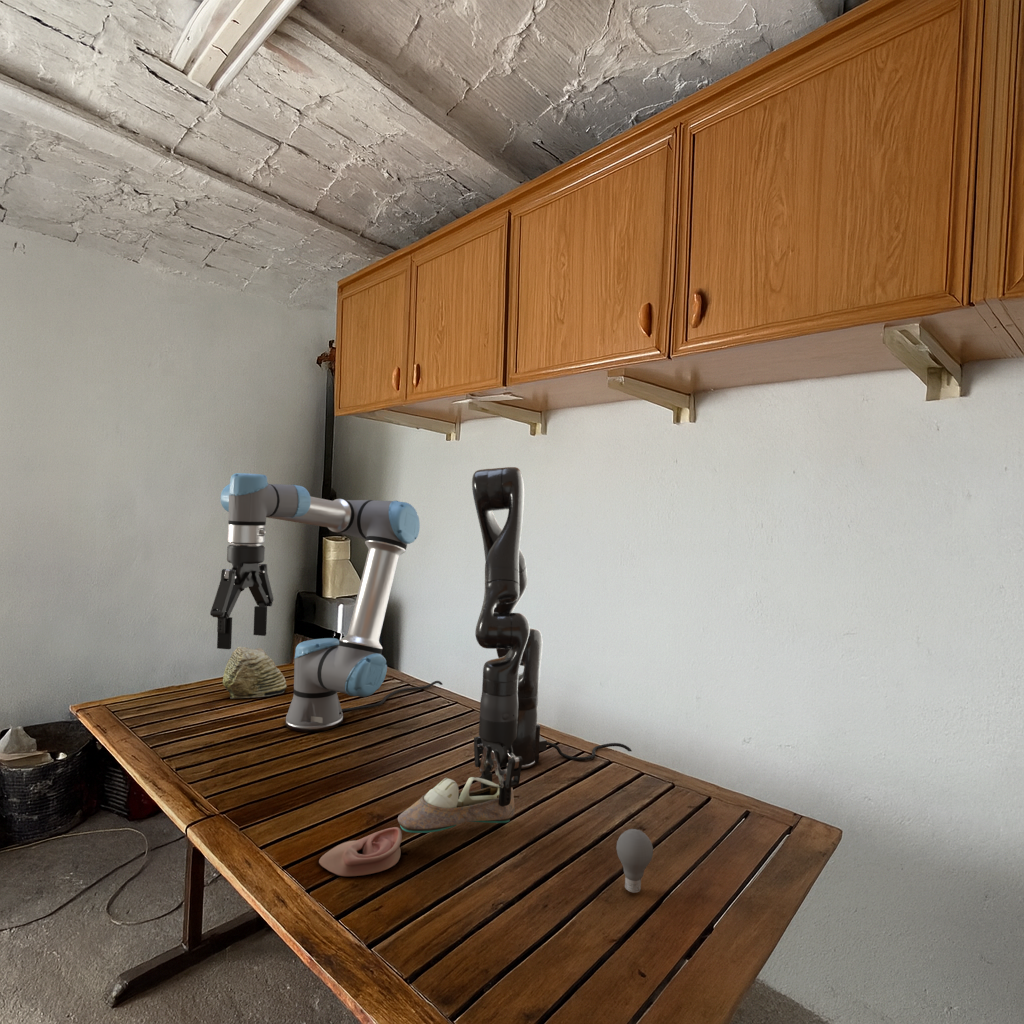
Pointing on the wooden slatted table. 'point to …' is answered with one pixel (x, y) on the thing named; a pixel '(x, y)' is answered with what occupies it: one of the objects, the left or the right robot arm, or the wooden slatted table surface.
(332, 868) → the anatomical model
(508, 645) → the right robot arm
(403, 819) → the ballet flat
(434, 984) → the wooden slatted table surface
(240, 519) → the left robot arm
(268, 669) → the fossil
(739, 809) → the wooden slatted table surface
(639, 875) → the light bulb
